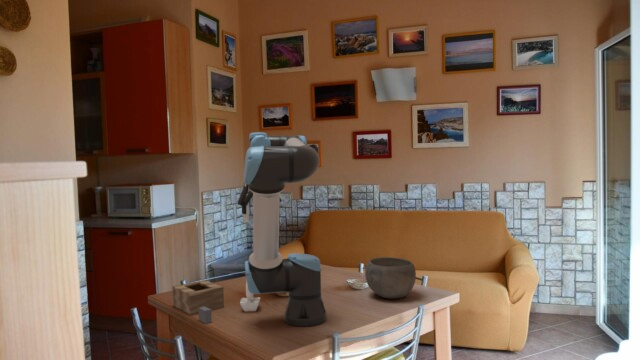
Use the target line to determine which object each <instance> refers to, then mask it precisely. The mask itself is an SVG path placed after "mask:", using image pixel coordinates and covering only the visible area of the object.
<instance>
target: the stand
mask: <svg viewBox="0 0 640 360" xmlns="http://www.w3.org/2000/svg"><path fill="white" fill-rule="evenodd" d="M198 321H200V322H202V323H204V324H209V323H212V310H211V309H209V308H207V307H200V308H199V313H198Z"/></svg>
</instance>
